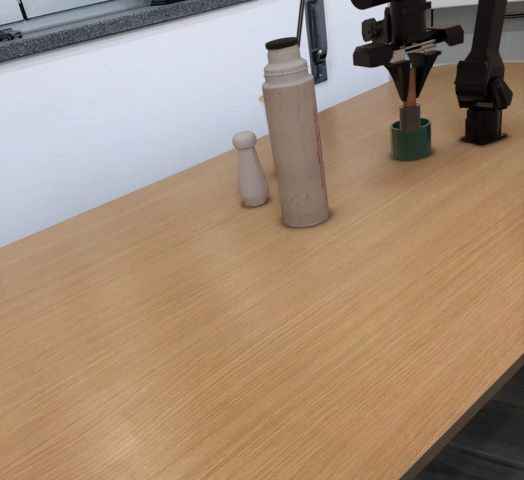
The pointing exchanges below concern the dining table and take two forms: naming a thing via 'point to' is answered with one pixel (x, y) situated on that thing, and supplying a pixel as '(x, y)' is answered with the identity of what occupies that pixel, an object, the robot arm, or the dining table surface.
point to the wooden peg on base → (410, 107)
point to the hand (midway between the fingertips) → (409, 99)
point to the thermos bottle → (294, 134)
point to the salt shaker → (250, 170)
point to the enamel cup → (411, 141)
